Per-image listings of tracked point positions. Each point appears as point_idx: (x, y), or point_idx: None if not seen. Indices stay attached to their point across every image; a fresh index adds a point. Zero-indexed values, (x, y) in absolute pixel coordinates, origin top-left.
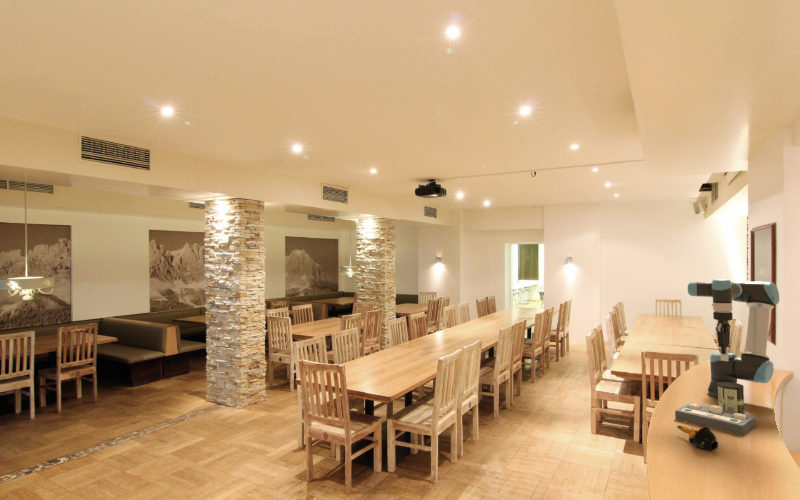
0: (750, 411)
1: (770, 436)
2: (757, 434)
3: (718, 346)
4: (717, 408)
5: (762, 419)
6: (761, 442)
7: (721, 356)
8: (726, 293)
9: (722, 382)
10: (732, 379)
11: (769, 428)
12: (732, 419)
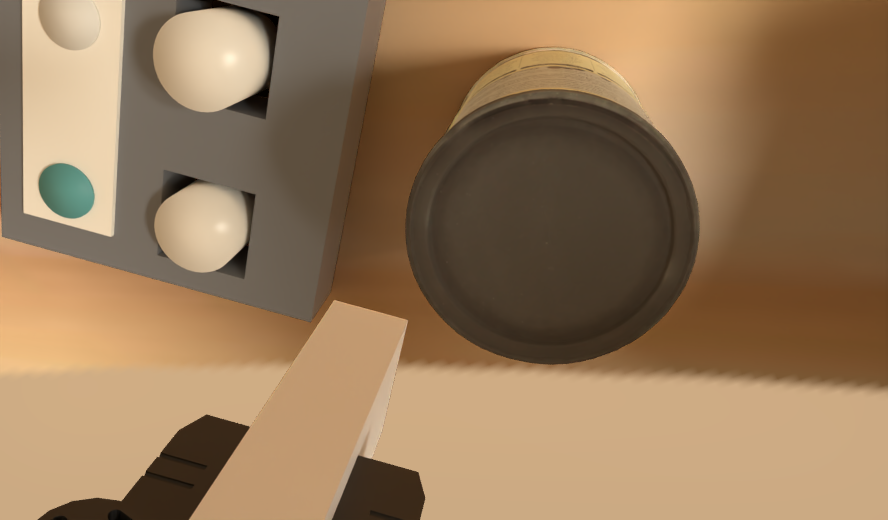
0: (716, 276)
1: (156, 349)
2: (138, 289)
3: (65, 514)
4: (160, 76)
5: None
6: (3, 300)
7: (297, 365)
8: None
9: (639, 150)
10: None
11: None
12: (69, 180)
